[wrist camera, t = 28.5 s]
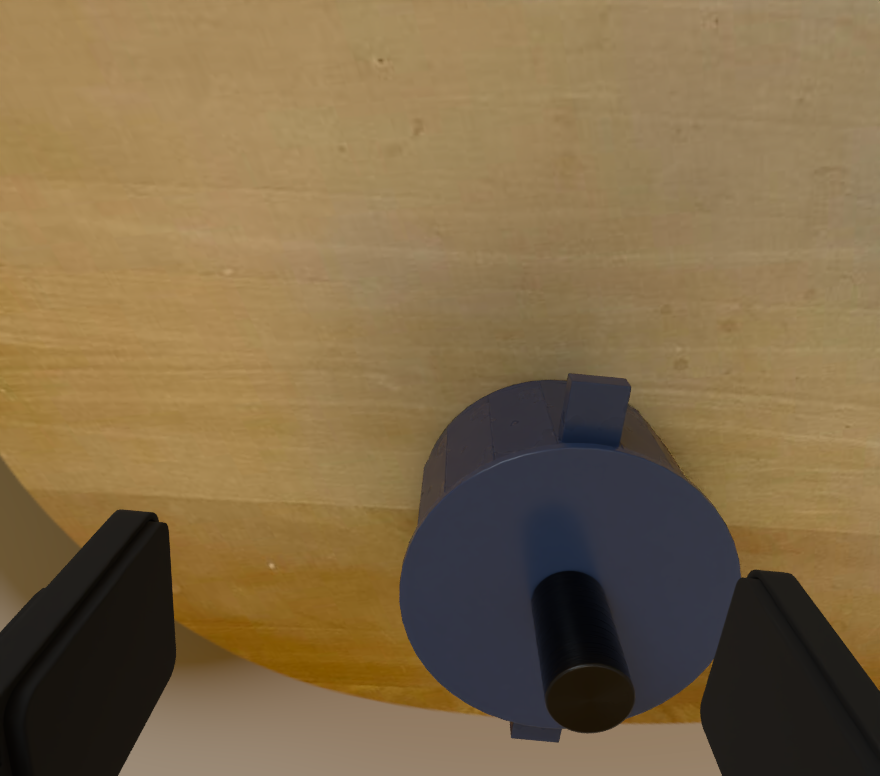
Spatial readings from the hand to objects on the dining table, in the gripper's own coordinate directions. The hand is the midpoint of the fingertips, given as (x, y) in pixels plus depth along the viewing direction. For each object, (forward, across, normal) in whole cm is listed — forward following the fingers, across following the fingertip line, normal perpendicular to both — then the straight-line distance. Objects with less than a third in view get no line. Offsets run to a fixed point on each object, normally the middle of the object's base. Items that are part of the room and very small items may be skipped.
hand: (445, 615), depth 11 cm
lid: (+16, -6, +11) cm, 20 cm away
